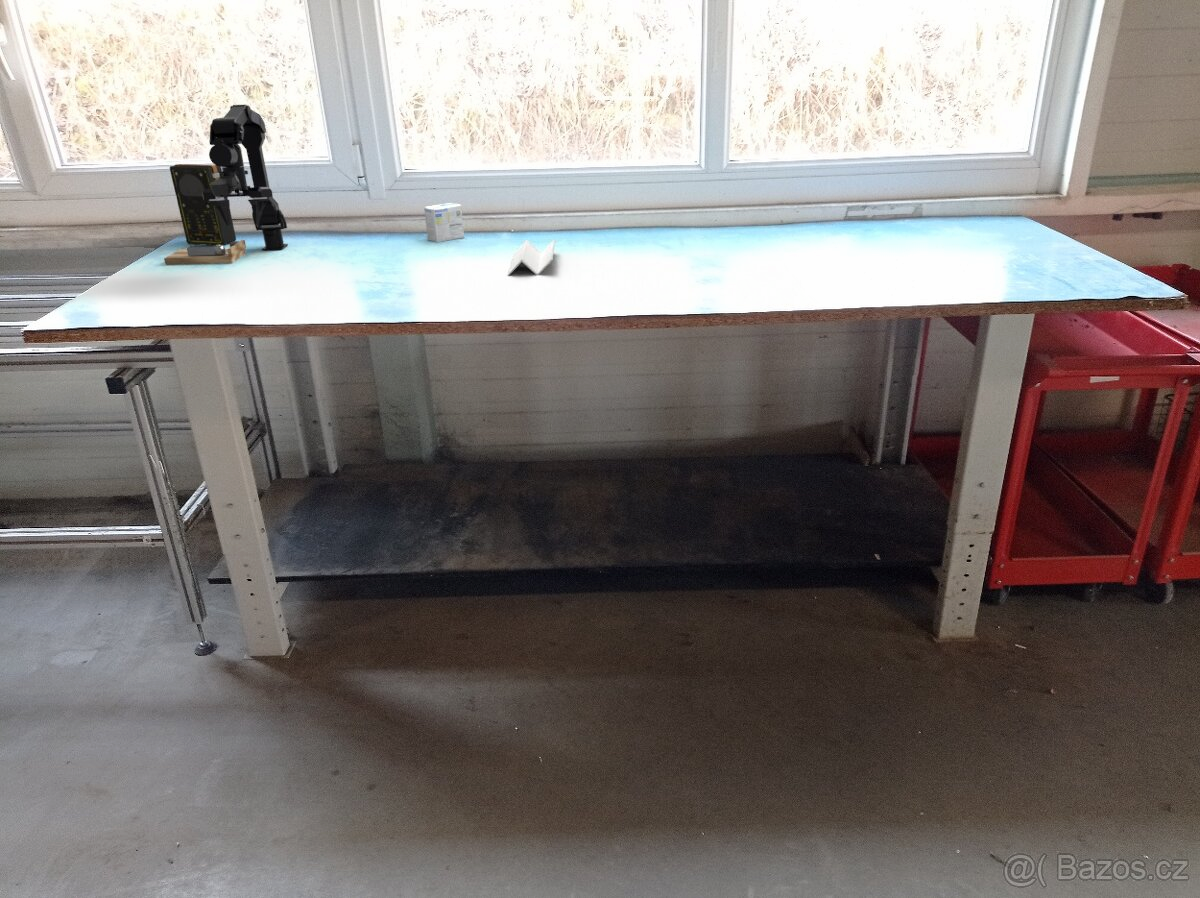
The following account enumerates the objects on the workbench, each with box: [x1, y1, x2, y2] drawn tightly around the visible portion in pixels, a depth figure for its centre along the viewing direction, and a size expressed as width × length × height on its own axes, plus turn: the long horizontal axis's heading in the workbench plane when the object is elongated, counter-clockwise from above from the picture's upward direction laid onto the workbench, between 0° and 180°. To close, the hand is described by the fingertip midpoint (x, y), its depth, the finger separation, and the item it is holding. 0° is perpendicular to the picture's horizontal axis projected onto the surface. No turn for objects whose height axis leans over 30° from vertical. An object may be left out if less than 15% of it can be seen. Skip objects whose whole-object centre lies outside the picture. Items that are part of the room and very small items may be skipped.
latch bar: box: [185, 244, 226, 256], centre depth 258 cm, size 11×3×3 cm, turn 91°
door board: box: [163, 239, 247, 266], centre depth 262 cm, size 12×20×4 cm, turn 91°
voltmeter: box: [169, 163, 237, 246], centre depth 278 cm, size 16×9×25 cm, turn 73°
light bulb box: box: [423, 202, 465, 243], centre depth 280 cm, size 11×7×11 cm, turn 130°
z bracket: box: [506, 238, 556, 277], centre depth 249 cm, size 12×25×6 cm
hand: (242, 225), depth 240 cm, fingers open, 9 cm apart
